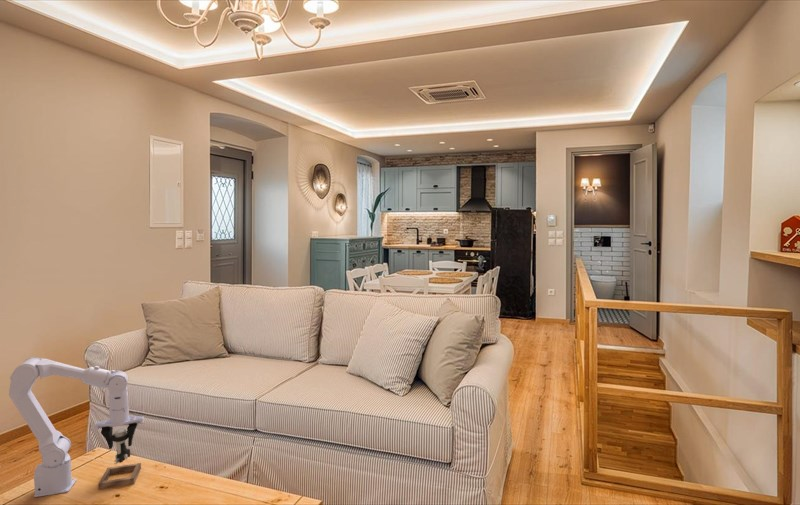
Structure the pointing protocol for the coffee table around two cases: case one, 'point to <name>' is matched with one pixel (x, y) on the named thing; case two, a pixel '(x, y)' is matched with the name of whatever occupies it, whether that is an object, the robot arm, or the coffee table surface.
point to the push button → (121, 445)
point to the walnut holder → (123, 481)
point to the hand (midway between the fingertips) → (120, 446)
